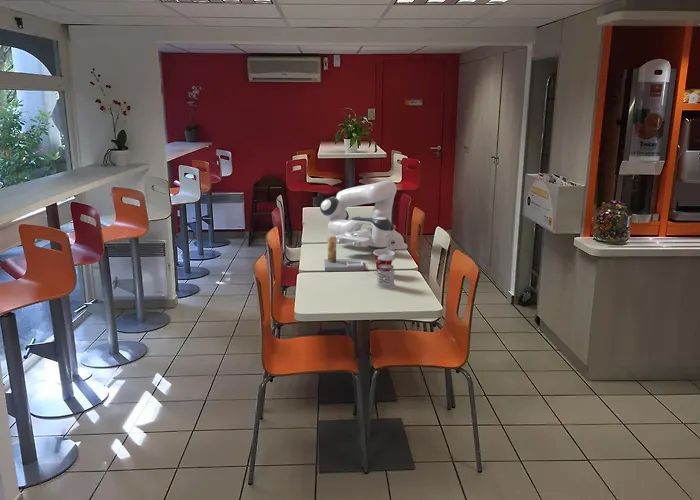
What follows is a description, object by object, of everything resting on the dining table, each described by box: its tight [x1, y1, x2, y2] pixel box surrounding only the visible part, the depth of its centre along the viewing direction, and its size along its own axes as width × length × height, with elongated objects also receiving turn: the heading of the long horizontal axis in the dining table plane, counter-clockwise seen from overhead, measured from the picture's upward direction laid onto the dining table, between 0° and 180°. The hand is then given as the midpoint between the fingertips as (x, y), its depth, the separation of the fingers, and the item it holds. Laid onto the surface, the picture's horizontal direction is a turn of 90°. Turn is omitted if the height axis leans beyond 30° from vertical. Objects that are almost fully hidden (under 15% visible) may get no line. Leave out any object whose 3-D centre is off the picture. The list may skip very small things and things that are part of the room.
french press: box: [372, 234, 397, 290], centre depth 270 cm, size 10×12×25 cm
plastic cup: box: [372, 249, 396, 277], centre depth 289 cm, size 11×11×12 cm
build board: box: [323, 258, 365, 272], centre depth 305 cm, size 20×16×3 cm
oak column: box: [327, 235, 337, 263], centre depth 307 cm, size 4×4×13 cm
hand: (345, 243), depth 316 cm, fingers open, 8 cm apart
